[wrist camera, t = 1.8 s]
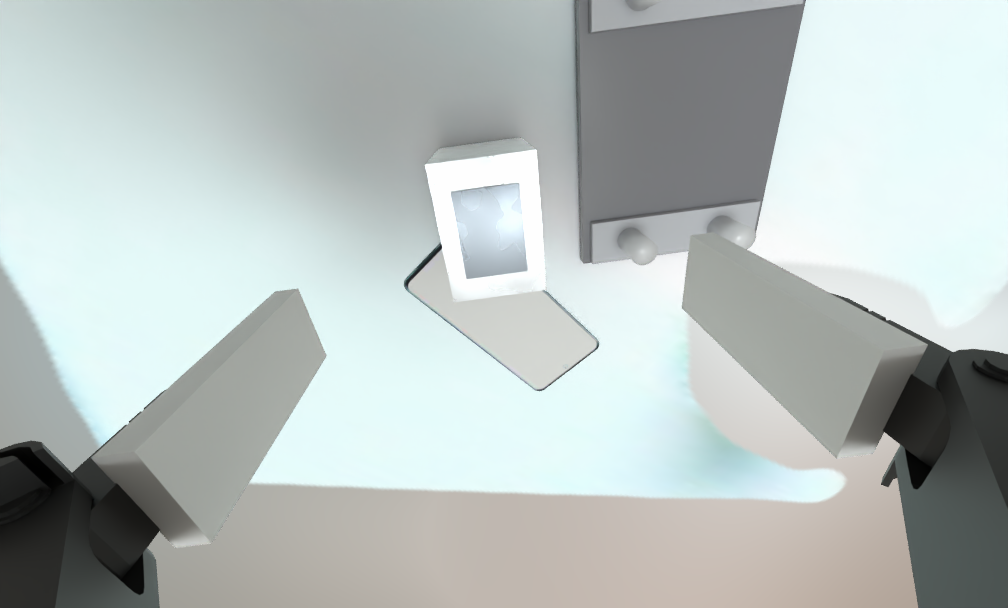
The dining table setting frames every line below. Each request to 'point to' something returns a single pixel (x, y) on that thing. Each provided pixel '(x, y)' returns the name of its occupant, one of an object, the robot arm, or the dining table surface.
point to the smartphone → (508, 325)
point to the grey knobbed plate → (677, 119)
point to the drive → (489, 217)
